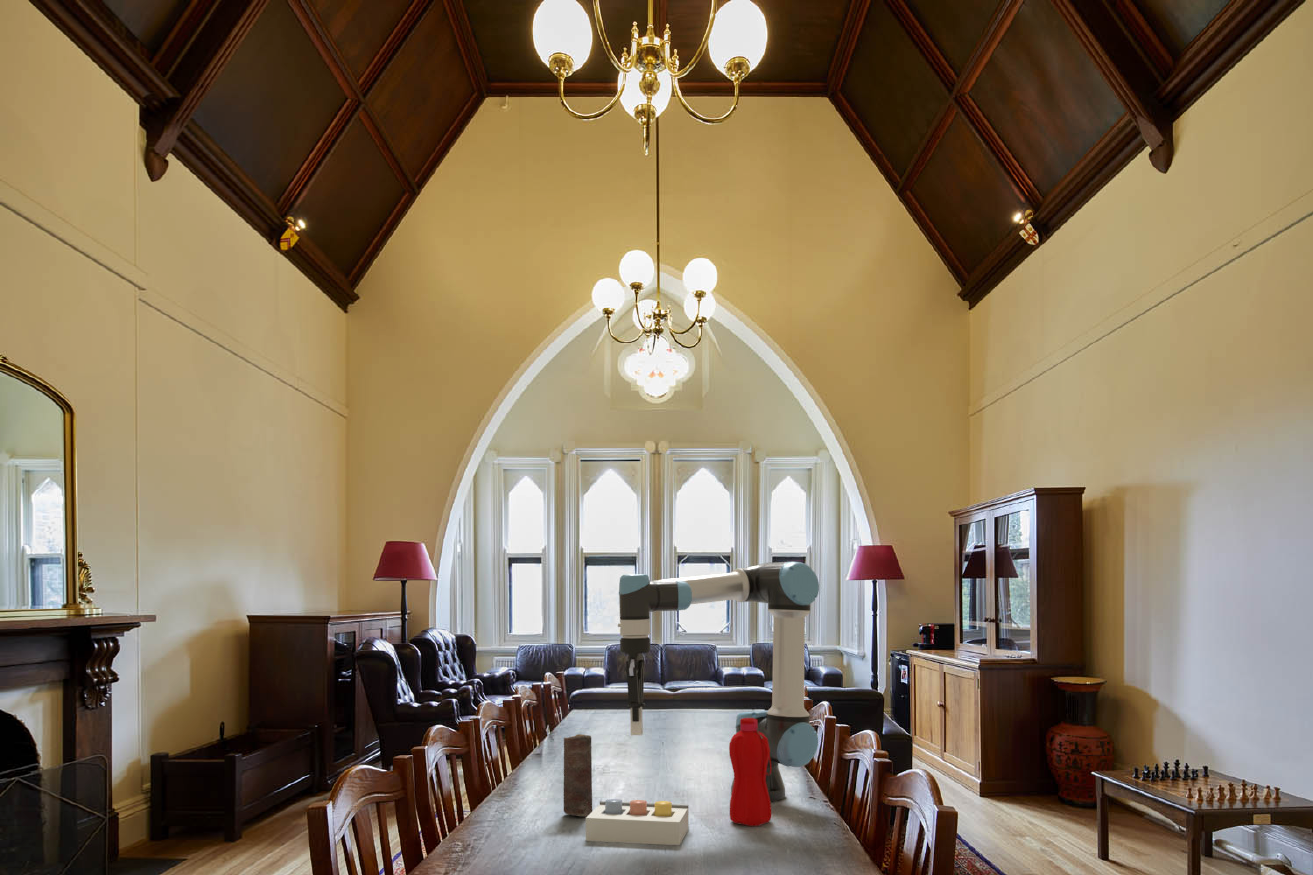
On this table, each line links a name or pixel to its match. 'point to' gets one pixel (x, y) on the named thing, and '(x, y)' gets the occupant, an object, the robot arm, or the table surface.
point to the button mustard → (663, 808)
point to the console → (637, 826)
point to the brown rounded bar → (578, 775)
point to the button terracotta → (638, 807)
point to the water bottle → (750, 775)
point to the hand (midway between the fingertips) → (636, 734)
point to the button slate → (613, 806)
